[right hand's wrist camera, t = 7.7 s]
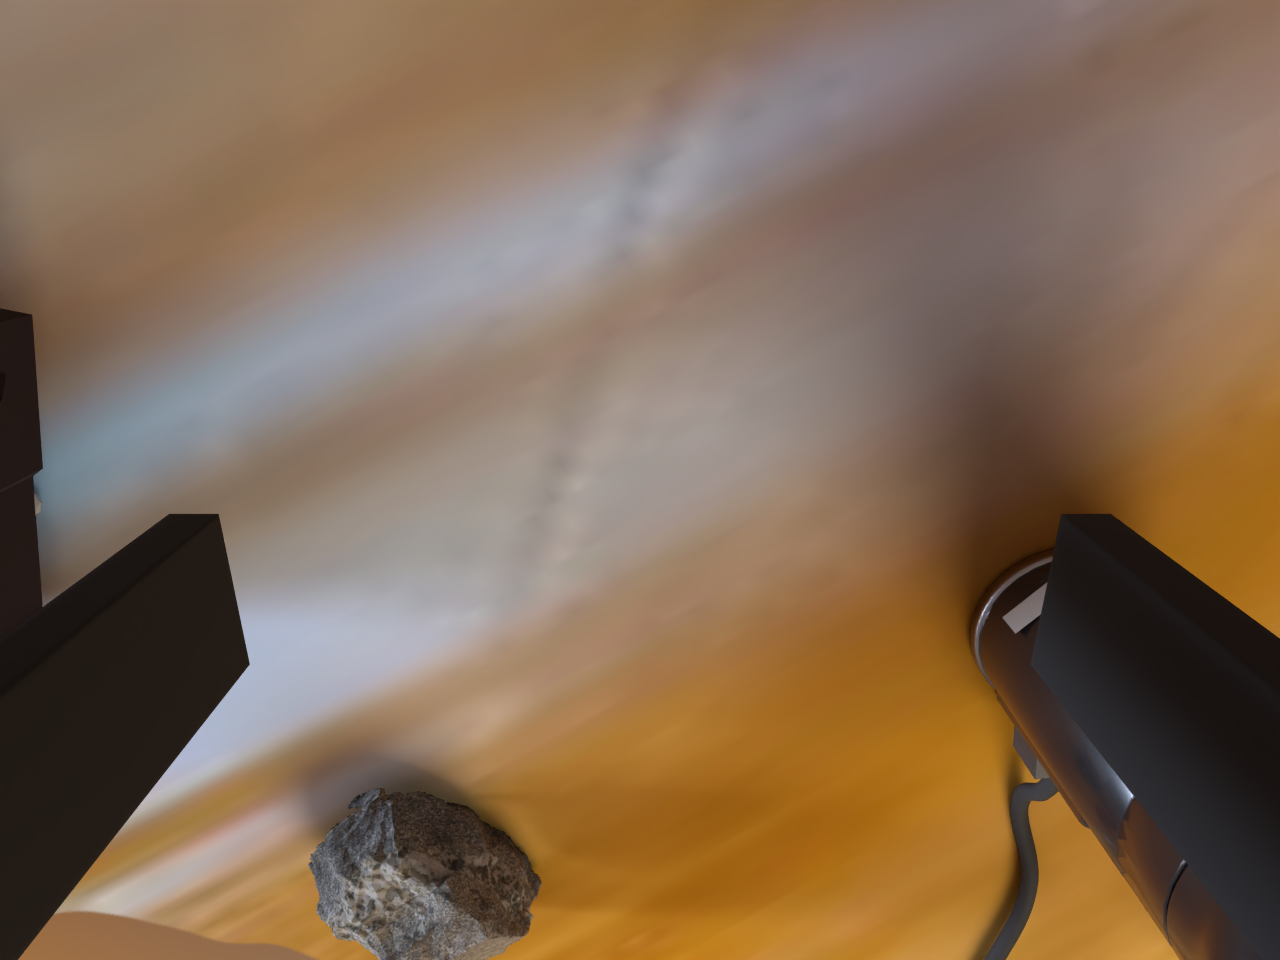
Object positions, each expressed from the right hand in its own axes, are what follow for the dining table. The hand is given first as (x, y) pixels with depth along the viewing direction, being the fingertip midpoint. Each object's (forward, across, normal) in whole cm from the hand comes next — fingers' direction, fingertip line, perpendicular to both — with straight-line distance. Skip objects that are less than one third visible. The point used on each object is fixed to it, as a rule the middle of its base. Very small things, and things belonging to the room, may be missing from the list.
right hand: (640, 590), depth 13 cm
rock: (+26, -12, -32) cm, 43 cm away
